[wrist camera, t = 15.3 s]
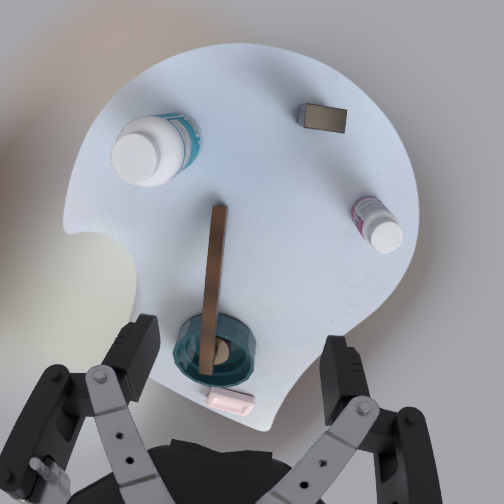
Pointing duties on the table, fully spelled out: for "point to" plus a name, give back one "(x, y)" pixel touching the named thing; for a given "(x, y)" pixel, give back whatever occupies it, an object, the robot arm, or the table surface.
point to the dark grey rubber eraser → (322, 118)
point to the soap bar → (230, 401)
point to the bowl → (223, 374)
